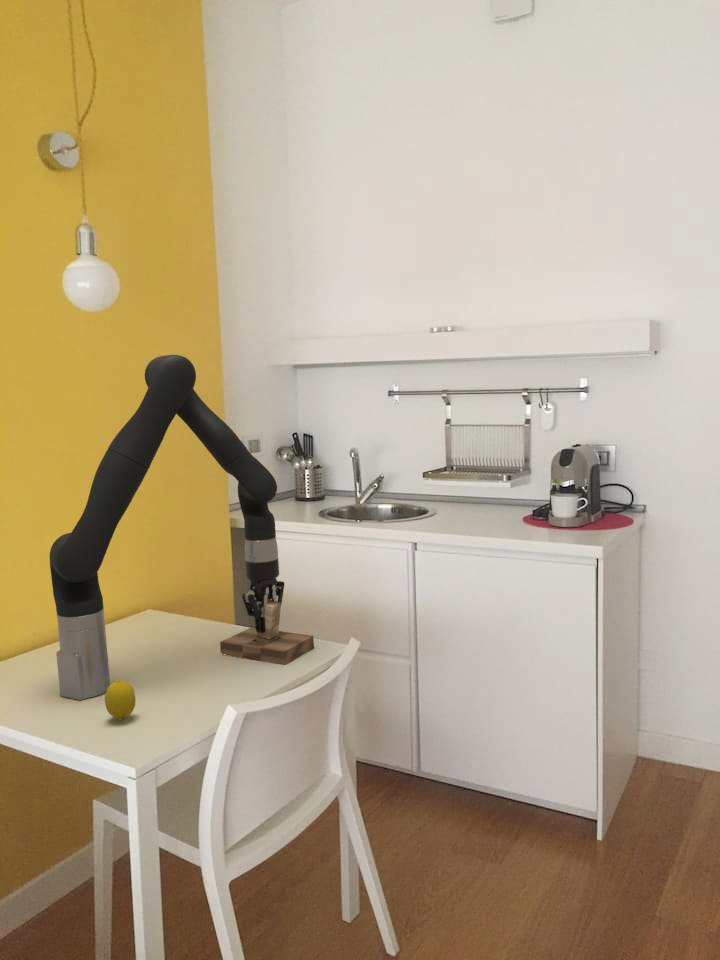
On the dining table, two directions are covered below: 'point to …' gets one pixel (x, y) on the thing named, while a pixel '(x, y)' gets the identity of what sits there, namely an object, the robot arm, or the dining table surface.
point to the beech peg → (270, 622)
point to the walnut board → (267, 646)
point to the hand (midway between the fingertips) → (266, 629)
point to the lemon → (120, 699)
